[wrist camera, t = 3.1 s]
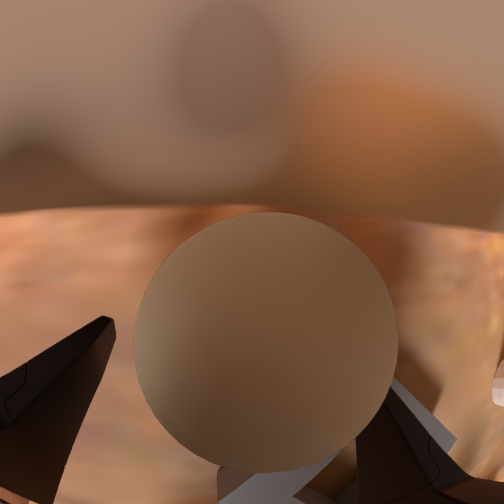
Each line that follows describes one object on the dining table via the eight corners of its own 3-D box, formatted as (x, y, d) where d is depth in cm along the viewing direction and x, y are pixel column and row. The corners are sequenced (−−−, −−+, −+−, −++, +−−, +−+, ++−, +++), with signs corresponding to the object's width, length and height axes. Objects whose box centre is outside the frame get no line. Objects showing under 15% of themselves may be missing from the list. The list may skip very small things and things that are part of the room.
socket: (426, 428, 16) (456, 439, 12) (329, 531, 13) (346, 555, 9) (339, 349, 17) (369, 352, 14) (217, 472, 14) (217, 502, 10)
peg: (282, 333, 17) (432, 328, 4) (234, 382, 16) (279, 509, 3) (232, 285, 18) (269, 166, 5) (183, 334, 17) (82, 342, 4)
